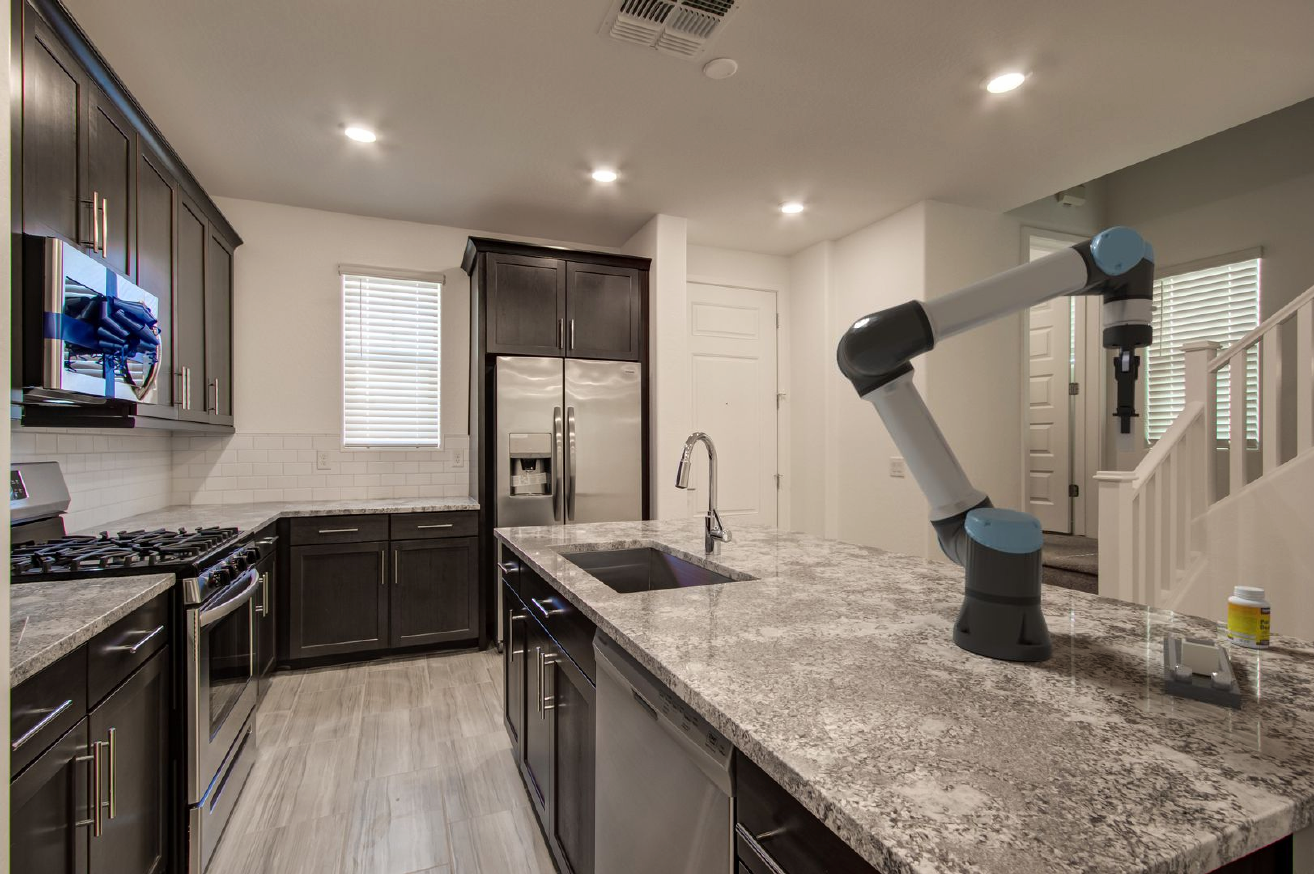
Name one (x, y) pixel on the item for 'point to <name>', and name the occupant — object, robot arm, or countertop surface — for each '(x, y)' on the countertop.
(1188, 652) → the fader tab
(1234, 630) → the supplement bottle
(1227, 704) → the console
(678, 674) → the countertop surface
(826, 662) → the countertop surface
